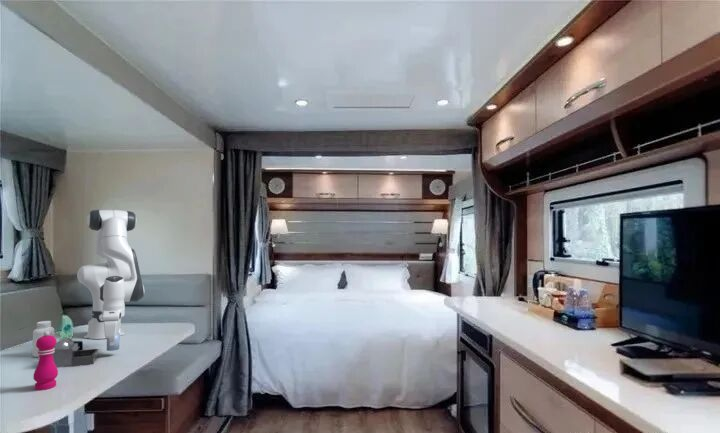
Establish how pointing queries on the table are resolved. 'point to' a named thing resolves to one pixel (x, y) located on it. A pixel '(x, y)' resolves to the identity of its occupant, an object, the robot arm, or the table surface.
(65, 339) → the dark grey piece
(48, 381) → the pepper mill
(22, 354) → the table surface
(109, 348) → the light blue bottle
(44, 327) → the pill bottle
